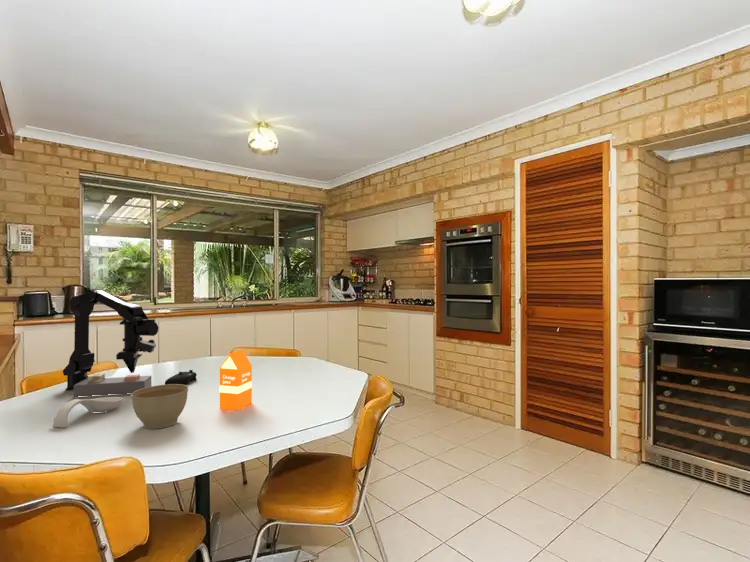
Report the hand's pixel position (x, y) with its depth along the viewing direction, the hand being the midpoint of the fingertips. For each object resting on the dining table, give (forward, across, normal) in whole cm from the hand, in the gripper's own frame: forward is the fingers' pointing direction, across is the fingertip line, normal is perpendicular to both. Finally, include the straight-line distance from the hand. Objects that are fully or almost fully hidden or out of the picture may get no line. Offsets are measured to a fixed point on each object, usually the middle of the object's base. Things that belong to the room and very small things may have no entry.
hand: (132, 372), depth 167 cm
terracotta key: (+5, 0, 0) cm, 5 cm away
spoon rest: (+8, -30, +4) cm, 32 cm away
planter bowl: (+8, -46, -21) cm, 51 cm away
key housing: (+8, 0, +7) cm, 10 cm away
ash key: (+4, 0, +13) cm, 14 cm away
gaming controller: (+8, +11, -17) cm, 22 cm away
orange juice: (+8, -33, -43) cm, 55 cm away
